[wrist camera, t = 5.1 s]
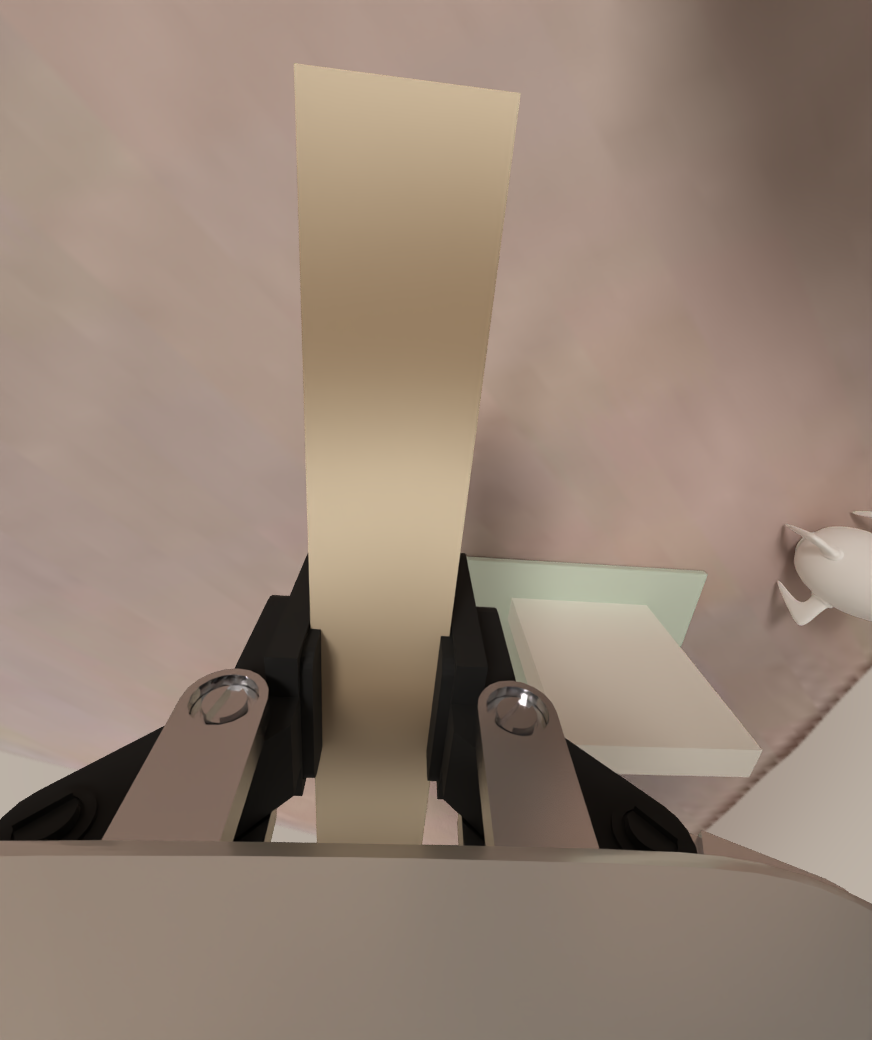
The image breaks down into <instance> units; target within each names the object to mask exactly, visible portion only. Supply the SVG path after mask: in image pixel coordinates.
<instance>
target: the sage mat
mask: <svg viewBox="0 0 872 1040" xmlns="http://www.w3.org/2000/svg"><path fill="white" fill-rule="evenodd" d="M467 562H468V568H469V573H470V578H471V583H472V588H473V593H474V598H475V603H476V606H478V607H495V608H496V609H497V611H498V614H499V618H500V621H501V625H502V629H503V633H504V637H505V641H506V644H507V648H508V652H509V656H510V660H511V663H512V667H513V671H514V675H515V679H516V682H522V683H525V684H527V680H526V677H525V674H524V671H523V668H522V664H521V661H520V658H519V655H518V652H517V648H516V645H515V642H514V639H513V636H512V632H511V629H510V626H509V623H508V614H509V609H510V604H511V598H525V599H544V600H562V601H581V602H599V603H618V604H636V605H647V606H648V608H649V609H650V610H651V611H652V613H653V614H654V615H655V616H656V618H657V619H658V620H659V621H660V623H661V624H662V625H663V626H664V628H665V629H666V630H667V631H668V633H669V634H670V635H671V636H672V638H673V639H674V640H675V641H676V643H677V644H678V645H679V646H680V648H681V645H682V643H683V640H684V637H685V635H686V632H687V629H688V626H689V624H690V621H691V618H692V616H693V613H694V610H695V607H696V605H697V602H698V599H699V597H700V594H701V591H702V589H703V586H704V583H705V580H706V578H707V575H708V574H707V573H705V572H704V571H696V570H680V569H663V568H647V567H631V566H614V565H598V564H581V563H565V562H548V561H532V560H515V559H499V558H483V557H467Z"/></svg>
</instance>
